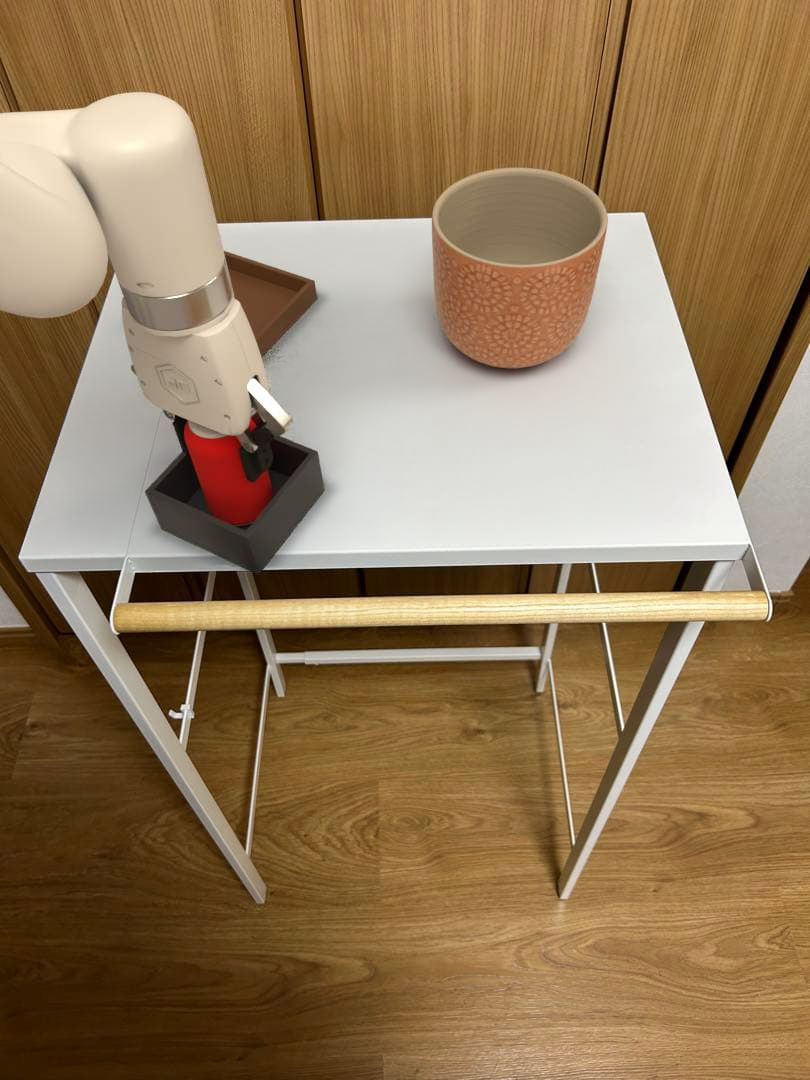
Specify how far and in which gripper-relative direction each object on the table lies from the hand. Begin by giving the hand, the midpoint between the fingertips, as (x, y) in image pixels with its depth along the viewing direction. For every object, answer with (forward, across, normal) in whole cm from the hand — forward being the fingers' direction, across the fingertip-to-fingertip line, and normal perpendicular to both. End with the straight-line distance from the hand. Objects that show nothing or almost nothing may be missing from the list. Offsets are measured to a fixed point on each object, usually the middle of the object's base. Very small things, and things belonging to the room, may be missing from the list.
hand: (228, 455), depth 73 cm
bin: (+8, 0, 0) cm, 8 cm away
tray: (+8, -18, +24) cm, 31 cm away
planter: (+8, +12, +34) cm, 37 cm away
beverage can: (+7, 0, 0) cm, 7 cm away
